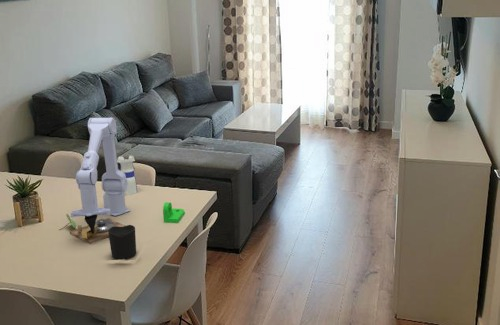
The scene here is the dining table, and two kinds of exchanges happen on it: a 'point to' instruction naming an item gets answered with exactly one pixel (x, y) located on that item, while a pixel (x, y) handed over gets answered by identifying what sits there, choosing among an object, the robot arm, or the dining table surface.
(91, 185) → the robot arm
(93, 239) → the board
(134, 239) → the pen holder
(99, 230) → the pan with wooden handle
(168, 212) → the mechanical part
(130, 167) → the water bottle
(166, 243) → the dining table surface
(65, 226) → the seedling
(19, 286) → the dining table surface
